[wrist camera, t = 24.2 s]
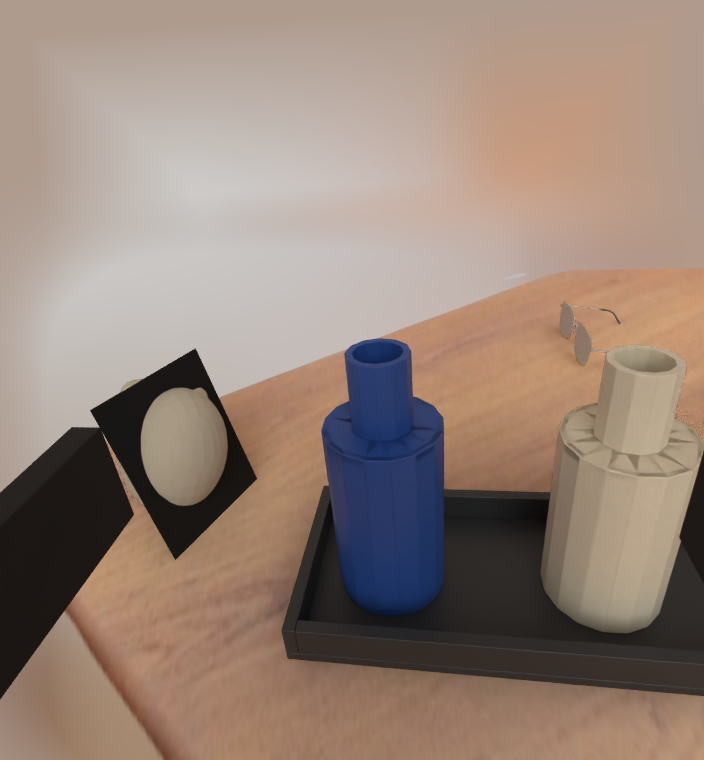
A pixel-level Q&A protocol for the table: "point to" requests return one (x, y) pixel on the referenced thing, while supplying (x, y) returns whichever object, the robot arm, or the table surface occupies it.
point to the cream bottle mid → (620, 494)
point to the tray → (494, 610)
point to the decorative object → (176, 449)
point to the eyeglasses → (578, 332)
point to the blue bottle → (386, 483)
